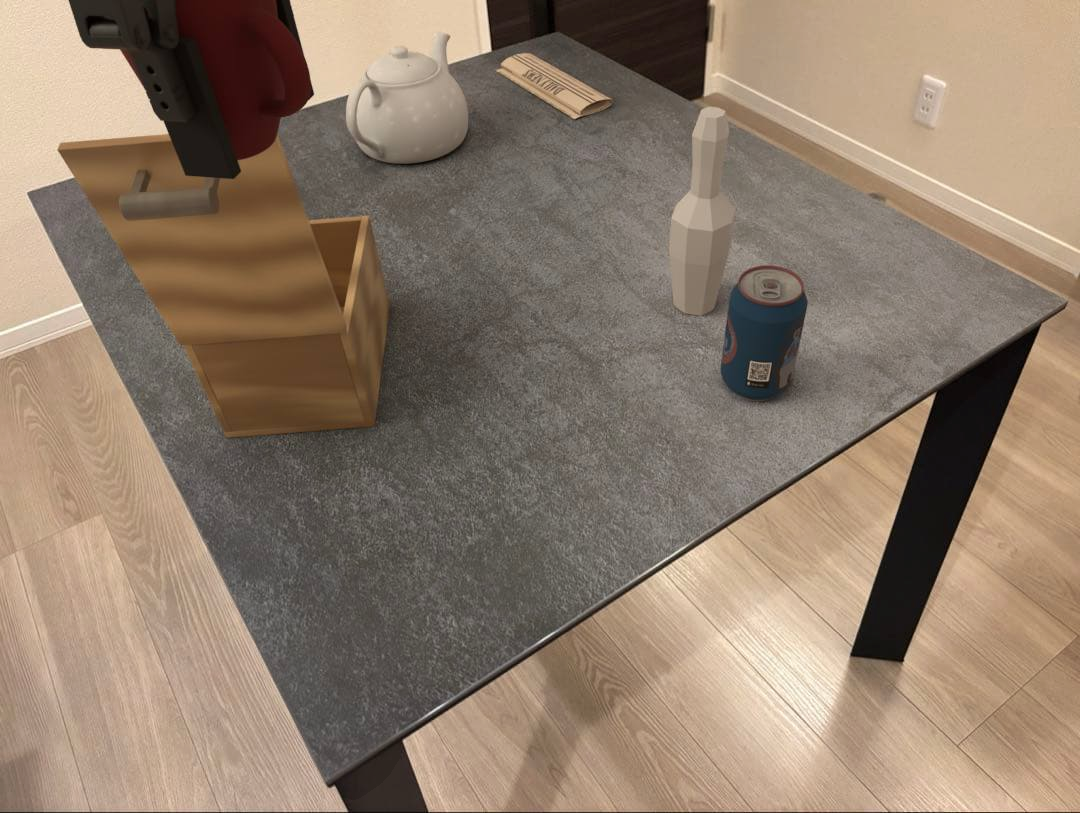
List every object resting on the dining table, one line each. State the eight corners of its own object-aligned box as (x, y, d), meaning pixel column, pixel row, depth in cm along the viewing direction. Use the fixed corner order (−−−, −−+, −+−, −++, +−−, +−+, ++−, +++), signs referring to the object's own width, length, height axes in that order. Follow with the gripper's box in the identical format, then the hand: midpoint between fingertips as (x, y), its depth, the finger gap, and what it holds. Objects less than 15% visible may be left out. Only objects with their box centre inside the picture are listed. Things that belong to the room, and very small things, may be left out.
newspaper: (612, 106, 128) (612, 95, 127) (574, 120, 126) (574, 108, 124) (531, 60, 143) (530, 49, 141) (496, 71, 140) (495, 61, 139)
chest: (263, 314, 95) (231, 226, 87) (390, 304, 95) (369, 215, 87) (226, 438, 81) (183, 346, 73) (374, 426, 81) (348, 333, 73)
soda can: (721, 355, 85) (733, 258, 77) (791, 362, 84) (811, 264, 76) (716, 402, 81) (729, 303, 72) (790, 410, 79) (811, 310, 71)
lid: (59, 142, 56) (38, 191, 53) (274, 125, 56) (264, 173, 53) (182, 339, 73) (170, 385, 70) (347, 326, 73) (342, 371, 70)
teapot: (343, 127, 128) (321, 37, 119) (457, 105, 132) (446, 15, 122) (360, 183, 116) (338, 87, 106) (487, 157, 119) (477, 62, 109)
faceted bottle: (706, 327, 89) (727, 134, 73) (655, 307, 92) (665, 118, 76) (734, 297, 92) (759, 106, 77) (684, 279, 95) (699, 92, 80)
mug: (380, 126, 45) (336, -77, 38) (291, 203, 40) (222, -14, 33) (229, 100, 49) (163, -91, 42) (131, 168, 44) (36, -36, 37)
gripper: (-94, -538, 20) (220, 248, 36) (284, -497, 34) (389, 55, 50) (-325, -504, 22) (73, 235, 38) (127, -479, 36) (278, 51, 52)
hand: (254, 132), depth 44 cm, fingers closed on mug, 8 cm apart
